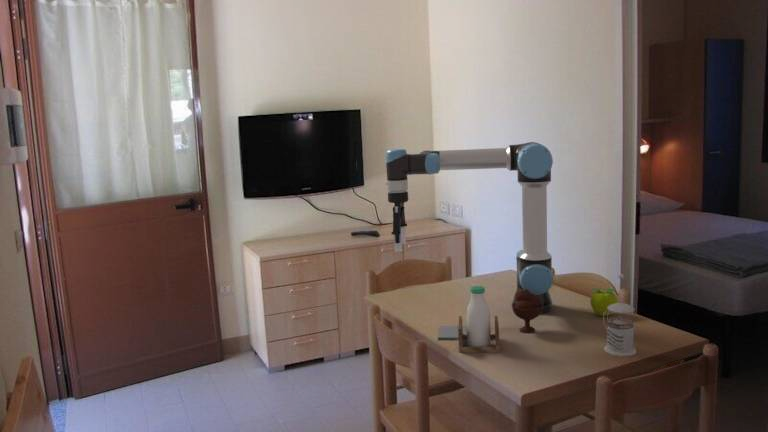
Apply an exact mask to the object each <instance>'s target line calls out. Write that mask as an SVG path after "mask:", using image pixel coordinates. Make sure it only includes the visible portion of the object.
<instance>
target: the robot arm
mask: <svg viewBox="0 0 768 432" xmlns="http://www.w3.org/2000/svg"><path fill="white" fill-rule="evenodd" d="M385 153H386V155H385V156H386V157H385V167H386V183H385V186H387V191H388V192H387V201H388V203H391V204H392V203H393V204H394V206H392V213H393V214H392V231H391V235H393V248H394V252H395V253H400V252H401V253H402V252H403V245H404V244H405V245H406V244H407V240H406V239H407V237H406V235H407V234H406V227H407V226H408V223H406V222H407V220H406V213H405V203H407V202H408V201H409V192H408V190H409V181H408V176H411V175H413V176H414V175H430V176H431V175H436V174H439V173H440V171H457V170H458V171H460V170H485V169H486V170H487V169H488V170H489V169H507V170H508V171H510V172H511V171H516V172H517V183H519V185H520V186H521V195H522V196H521V198H522V199H521V205H522V206H521V209H522V211H521V212H522V213H521V214H522V216H521V217H522V249H521V250H518V251H517V252H516V257H515V260H516V290H515V293H516V292H517V291H518V290H520V289H525V290H528V291H529V292H531V293H534V294H536V295H537V296H538V298H539V300H540V303H542V304H543V310H542V312H541V314H542V313H547V312H550V311H551V310H553V300H552V297H551V295H550V289H551V288H552V286H553V284H554V274H553V267H552V261H553V260H552V254H551V253H550V252H548V199H547V198H548V192H547V191H548V190H547V189H548V185H549V184H550V183H551V182H552V167H553V164H554V163H553V162H554V161H553V155H552V153H551V151H550V150H549V149H548V148H547V147H546V146H545V145H543V144H541V143H538V142H535V141H530V142H525V143H519V144H509V145H508V146H506V147H499V148H497V147H496V148H475V149H474V148H472V149H471V148H470V149H452V150H451V149H450V150H449V149H447V150H423V151H420V153H413V154H411V153H410V154H409V153H407V149H404V148H394V149H392V148H391V149H388V150H386V152H385ZM514 302H516V300H515V295H514V297H513V300H512V303H514Z"/></svg>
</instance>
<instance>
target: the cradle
mask: <svg viewBox="0 0 768 432" xmlns="http://www.w3.org/2000/svg"><path fill="white" fill-rule="evenodd" d="M457 326H458V336H459V340H458V353H486V354H487V353H489V352H490V353H493V352H494V353H495V352H500V327H499V317H498V315H494V333H490V337H491V340H494V343H495V346H489V347H469V346H463V343H464V342H463V341H464V340H463V337H467V334H463V329H462V326H463V315H458V324H457ZM495 354H496V353H495Z"/></svg>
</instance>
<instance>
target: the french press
mask: <svg viewBox="0 0 768 432" xmlns="http://www.w3.org/2000/svg"><path fill="white" fill-rule="evenodd" d="M617 278H619V279H624V278H625V274H623V273H619V274H618V275H617ZM619 299H620V300H619V301H620V302H617V303H615V304H611V305H609V306H608V307H607V309H608V310H609V312H608V314H609V313H610V311H611V312H613V313H610V315H614V314H619V315H620V316H616V317H615V316H614V317H611V318H609V315H608V314H607V316H606V319H607V320H606V321H607V326H606V324H605V316H604V315H605V313H606V311H608V310H606V311H605V313H604V315H603V316H602V321H603V326H604V328H605V330H607V331H606V332H607V341H606V342H607V344H606V346H605V347H604V348H603V349H604V351H605V352H606V353H608V354H610V355H613V356H622V357H624V356H625V357H626V356H627V357H628V356H633V355H635V354H637V352H636V351H637V349H636V348H635V346H634V340H635V339H634V337H635V335H634V333H635V332H634V331H635V330H634V328H635V327H634V325H633V320H632V319H631V318H626V317H622V315H624V314H625V315H627V314H632V313H634V311H635V310H636V309H635V308H634V306H631V305H630V304H627V303H625V302H622V296H620V298H619ZM625 326H626V327H625ZM629 327H630V328H629Z"/></svg>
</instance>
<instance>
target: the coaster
mask: <svg viewBox="0 0 768 432" xmlns="http://www.w3.org/2000/svg"><path fill="white" fill-rule="evenodd" d="M462 329H463V334H467V325H462ZM444 340H445V341H446V340H448V341H451V340H452V341H456V340H457V341H459V336H458V325H439V327H438V336H437V341H444ZM464 340H467V337H463V341H464Z"/></svg>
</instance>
